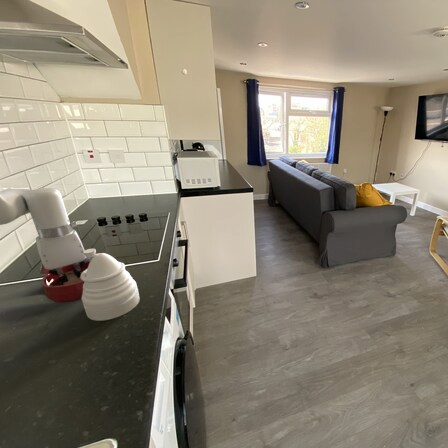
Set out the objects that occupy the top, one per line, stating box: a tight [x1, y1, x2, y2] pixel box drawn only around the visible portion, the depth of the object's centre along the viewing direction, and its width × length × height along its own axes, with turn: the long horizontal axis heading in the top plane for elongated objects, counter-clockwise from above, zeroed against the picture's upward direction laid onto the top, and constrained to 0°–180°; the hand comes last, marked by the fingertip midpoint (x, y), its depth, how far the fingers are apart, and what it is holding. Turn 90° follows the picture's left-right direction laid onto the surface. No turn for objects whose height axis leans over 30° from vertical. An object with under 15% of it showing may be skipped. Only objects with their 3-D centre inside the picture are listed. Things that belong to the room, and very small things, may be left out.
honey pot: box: [80, 248, 141, 321], centre depth 72 cm, size 13×13×18 cm
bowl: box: [40, 260, 91, 303], centre depth 82 cm, size 15×15×6 cm
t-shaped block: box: [62, 270, 82, 285], centre depth 82 cm, size 11×5×3 cm, turn 50°
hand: (73, 282), depth 84 cm, fingers closed on t-shaped block, 2 cm apart
